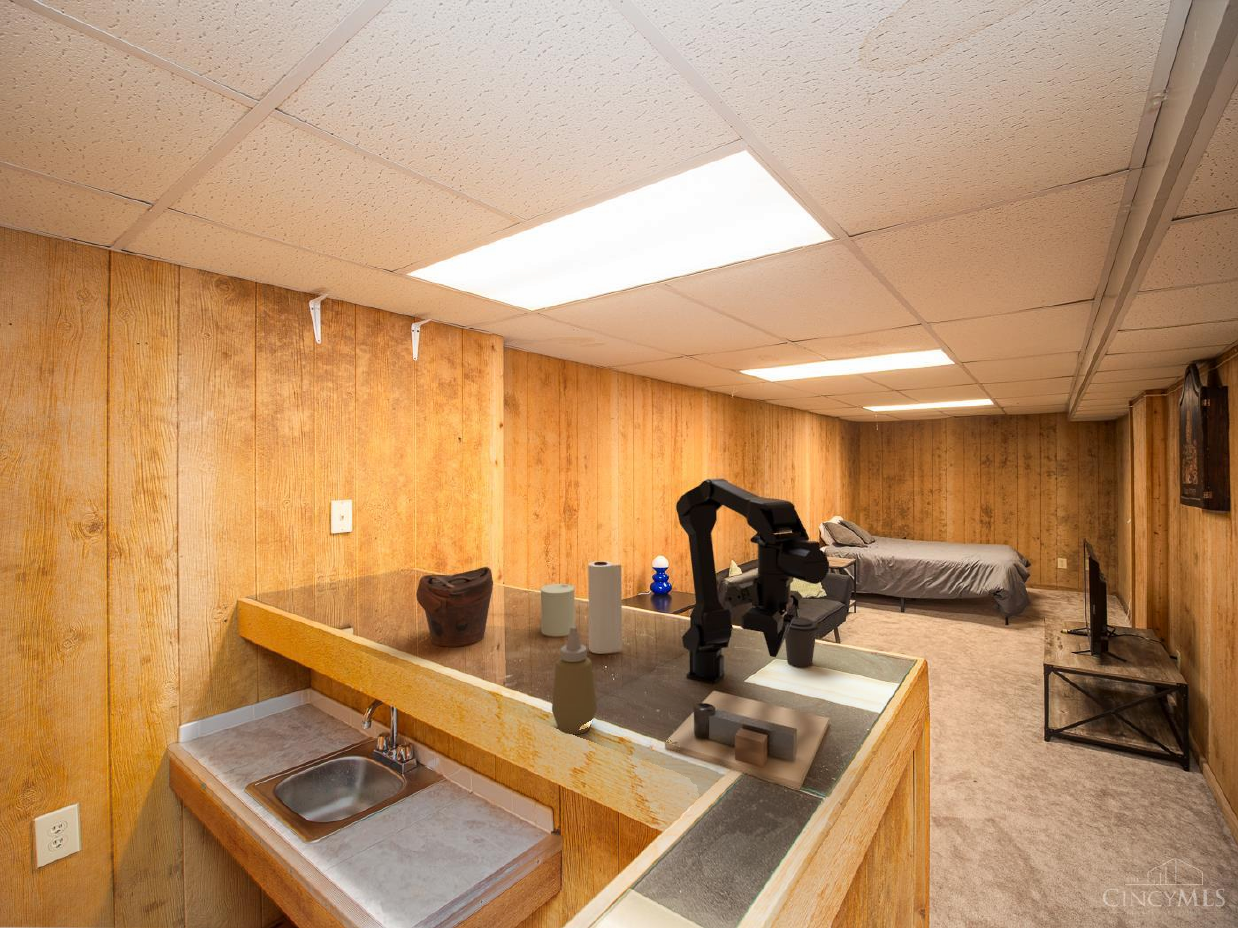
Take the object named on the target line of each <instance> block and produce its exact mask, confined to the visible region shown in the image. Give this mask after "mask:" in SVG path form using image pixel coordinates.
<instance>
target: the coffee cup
mask: <svg viewBox="0 0 1238 928" xmlns="http://www.w3.org/2000/svg"><path fill="white" fill-rule="evenodd" d="M818 629H820V627H819V625H818V623H817V622H815V620H812V619H808V618H804V617H795V618H794V619H793V621H792V624H791V626H790V628H789V630H788V632H787V634H786V637H785V639H784V641H785V642H784V643H785V651H786V662H787V664H788V665H790V667H794V668H799V669H807V668H810V667H812V666H813V662H814V652H815V646H816V645H815V643H816V636H817V630H818Z"/></svg>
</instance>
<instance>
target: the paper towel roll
mask: <svg viewBox="0 0 1238 928" xmlns="http://www.w3.org/2000/svg"><path fill="white" fill-rule="evenodd" d="M587 567H588V569H587V570H588V573H587V574H588V578H587V579H588V580H587V581H588V589H587V590H588V649H589V652H590V653H593V654H599V655H601V654H602V655H603V654H611V653H616V652H622V651H623V638H622V637H623V631H622V628H623V627H622V626H623V624H622V623H623V620H622V619H623V615H622V613H623V612H622V611H623V609H622V608H623V607H622V605H623V604H622V593H623V592H622V588H623V587H622V564H616V565H614V563H613V562H612V561H604V560H601V561H599V560H596V561H592V562H589V563H588V566H587Z"/></svg>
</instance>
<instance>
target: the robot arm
mask: <svg viewBox="0 0 1238 928" xmlns="http://www.w3.org/2000/svg"><path fill="white" fill-rule="evenodd" d="M722 507H726V508H727V509H730V510H732V511H734V512H735V513H737V514H739V515H741V516H743V517H744V518H745V519H746V524H747V525H748V527H749V526H750V527H751V528H752V529H753V530H754V531H755V532H756V533H755V534H754V535H753V536H752V537H751V538H750V540H749V541H750V542H751V543H754V544H757V575H756V576H754V577H753V578H752V581H748V582H744V583H739V584H738V583H735V584H733V585H729V586H727V587H726V590H725V592H724V594H725V597H724V601H725V602H728V604H729V606H730V608H737V607H738V606H741V605H745V604H749V603H751V606H752V607H751V608H750V609H749V610H748V611H746V613H744V614H743V615H741V617H740V618H741V619H740V620H741V623H740V626H741V627H740V628H741V629H743V630H747V631H750V632H751V631H753V632H758V633H762V634H763V636H764V640H765V644H766V647H767V650H768V654H769V656H770V657H772V658H776V657H777V656H778V654H779V652H780V649H781V648H782V646H783V643H784V641H785V637H786V634H787V632H788V630H789V628H790V626H791V624H792V621H793V619H794V618H796V617H795V615H794V614H789V613H788V609H790V607H792V605H794V608H795V609H796V610H800V609H801V608H802V607H803V602H804V601H803V599H804V597H803V595H802V594H801V593H800V592H799V591H798V590H791V584H792V583H793V582H794V579H796V580H798V581H799V580H800V581H803V582H805V583H809V584H813V585H815V584H816V585H817V584H820V583H821V582H823V580H825V579H826V577H827V575H828V573H829V571H830V561H829V560H828V556H827V554H826V552H825V551H823V550H821V547H820V546H821V545H820V544H821V543H820V542H819V541H816V540H812V541H811V540H810V537H809V535H808V533H807V530H806V528H805V527H804V525H803V522H802V520H801V518H800V515H799V514H798V512H797V510H796V507H795V504H794V503H792V502H791V501H789V500H784V499H780V498H771V497H763V496H762V497H761V496H759V495H757V494H755V493H753V492H751V491H748V490H746V489H744V488H742V487H740V486H737V485H736V484H733V483H731V482H729V481H728V480H727V479H724V478H707V479H705V480H703V481H702V482H701V483H700V484H699V485H698V486H696V487H694V488H692V489H690V490H688V491H686V492H685V493H684V494H682V495H681V496H680V497H679V499H678V500H677V502H676V505H675V509H676V513H677V518H678V523H679V524H680V525H679V526H681V527H682V529H683V530H684V532H685V533H686V534H687V536H688V544H689V553H690V561H691V569H692V570H691V571H692V578H693V580H692V581H693V589H694V597H695V604H694V606H693V608H692V610H691V613H690V616H689V622H690V624H689V626H690V627H689V628H688V629H687V631H685V633H684V634H683V635H682V637H681V639H682V645H683V648H684V649H686V650H687V651H689V661H688V662H689V663H688V664H689V672H688V673H686V674H685V675H686V678H689V679H691V680H692V679H693V680H697V681H702V682H706V683H708V684H709V683H710V684H715V683H716V682H717V681H718V680H719V679H721V677H722V676H724V674H725V656H724V654H723V651H722V649H726V648H728V647H729V643H730V640H731V637H732V631H733V628H734V627H733V624H732V616H731V614H732V613H731V611H730V609H729V608H726V607H724V605H723V604H722V602H721V601H720V597H719V589H718V587H719V586H718V581H717V572H716V564H715V563H716V562H715V555H714V546H713V539H712V537H713V536H712V532H713V530H714V528H715V525H716V524H717V520H718V515H717V513H718V512H717V511H718V510H720V509H721V508H722ZM759 607H761V608H759Z"/></svg>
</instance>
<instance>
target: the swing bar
mask: <svg viewBox="0 0 1238 928" xmlns="http://www.w3.org/2000/svg"><path fill="white" fill-rule="evenodd" d="M693 712H694V735H695V736H696V737H698V738H701V739H712V740H715V741H719V742H723V743H727V744H730V745H734V746H735V734H736V733H737V732H738V730H739V729H740V728H742V729H745V730H749V731H753V732H757V733H760V734H764V735H767V754H768V755H772V756H775V757H779V758H783V759H787V760H790V761H794V759H795V757H796V754H797V729H796V728H792V727H788V726H783V725H779V724H775V723H771V722H767V721H762V720H758V719H754V718H750V717H746V716H741V715H737V714H733V713H729V712H725V711H720V710H716V709H715V707H714V706H713V705H711V704H707V703H702V702H701V703H697V704H695V705H694V706H693Z"/></svg>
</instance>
